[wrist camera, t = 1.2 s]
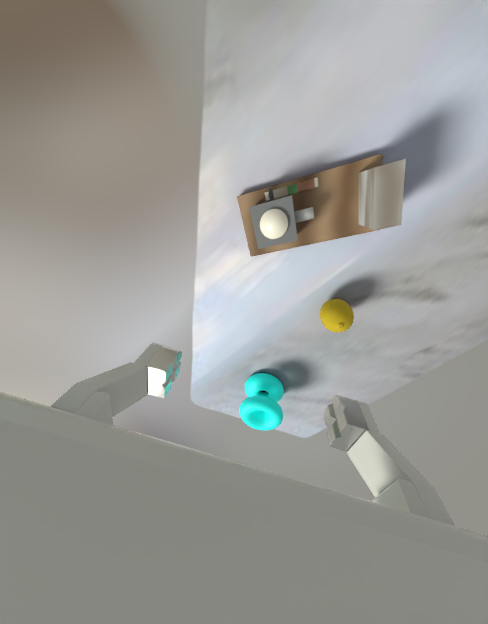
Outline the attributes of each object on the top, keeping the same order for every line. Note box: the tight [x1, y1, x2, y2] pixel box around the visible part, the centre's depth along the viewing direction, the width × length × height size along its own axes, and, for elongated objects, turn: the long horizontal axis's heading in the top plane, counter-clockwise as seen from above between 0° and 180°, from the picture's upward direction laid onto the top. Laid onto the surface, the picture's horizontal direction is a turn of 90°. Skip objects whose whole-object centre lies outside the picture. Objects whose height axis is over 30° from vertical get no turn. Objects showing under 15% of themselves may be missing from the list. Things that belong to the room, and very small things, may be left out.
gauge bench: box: [237, 154, 406, 256], centre depth 31 cm, size 21×10×8 cm, turn 104°
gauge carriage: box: [249, 187, 314, 249], centre depth 32 cm, size 9×8×5 cm
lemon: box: [320, 299, 354, 332], centre depth 39 cm, size 6×6×8 cm
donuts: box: [240, 373, 284, 430], centre depth 52 cm, size 10×10×10 cm
